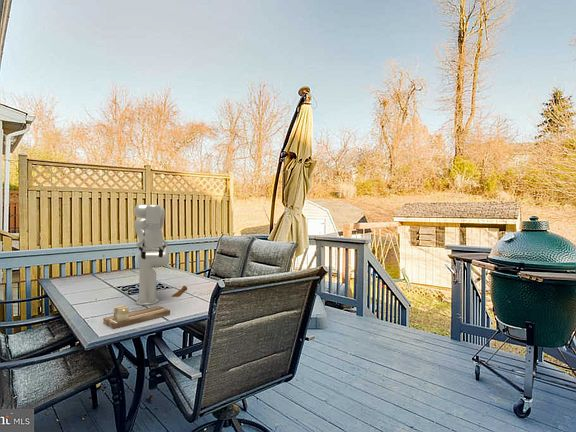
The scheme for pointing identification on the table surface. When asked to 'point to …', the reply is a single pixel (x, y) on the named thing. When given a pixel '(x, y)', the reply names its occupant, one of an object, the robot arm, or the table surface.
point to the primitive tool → (179, 292)
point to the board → (137, 317)
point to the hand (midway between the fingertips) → (152, 258)
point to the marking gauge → (121, 313)
